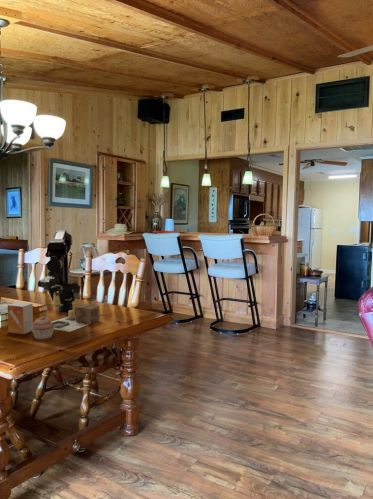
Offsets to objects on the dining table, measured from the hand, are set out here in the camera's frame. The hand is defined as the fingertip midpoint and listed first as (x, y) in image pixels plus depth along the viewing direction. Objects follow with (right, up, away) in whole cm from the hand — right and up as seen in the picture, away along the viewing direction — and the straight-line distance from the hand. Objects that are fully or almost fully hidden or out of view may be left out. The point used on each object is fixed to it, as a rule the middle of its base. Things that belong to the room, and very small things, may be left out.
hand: (58, 303), depth 184 cm
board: (+4, -11, +5) cm, 12 cm away
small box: (-13, -12, -8) cm, 20 cm away
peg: (0, -1, 0) cm, 1 cm away
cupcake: (-1, -13, -15) cm, 20 cm away
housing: (+11, -9, +7) cm, 17 cm away
